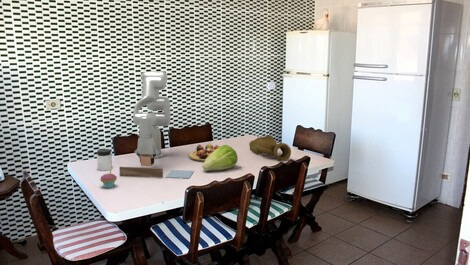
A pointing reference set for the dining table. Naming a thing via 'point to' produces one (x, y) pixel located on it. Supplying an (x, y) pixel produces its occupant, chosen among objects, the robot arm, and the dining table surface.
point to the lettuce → (221, 159)
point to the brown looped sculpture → (270, 147)
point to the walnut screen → (141, 172)
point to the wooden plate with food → (202, 152)
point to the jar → (104, 159)
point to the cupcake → (108, 179)
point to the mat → (180, 174)
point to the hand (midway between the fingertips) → (147, 163)
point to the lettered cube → (146, 160)
